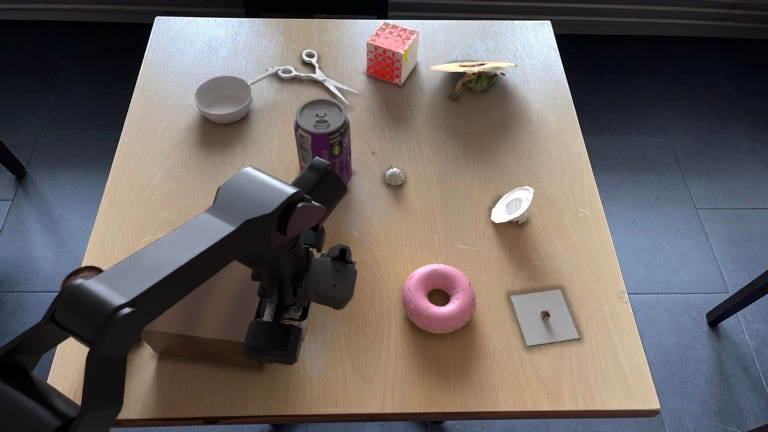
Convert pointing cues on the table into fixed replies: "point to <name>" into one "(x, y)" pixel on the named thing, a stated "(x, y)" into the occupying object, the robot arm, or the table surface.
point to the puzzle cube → (392, 52)
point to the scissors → (314, 75)
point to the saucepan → (227, 96)
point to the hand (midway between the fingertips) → (295, 315)
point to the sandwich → (474, 73)
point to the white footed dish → (513, 205)
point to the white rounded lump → (394, 176)
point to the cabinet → (209, 320)
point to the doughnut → (432, 315)
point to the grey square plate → (544, 317)
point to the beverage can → (324, 135)
